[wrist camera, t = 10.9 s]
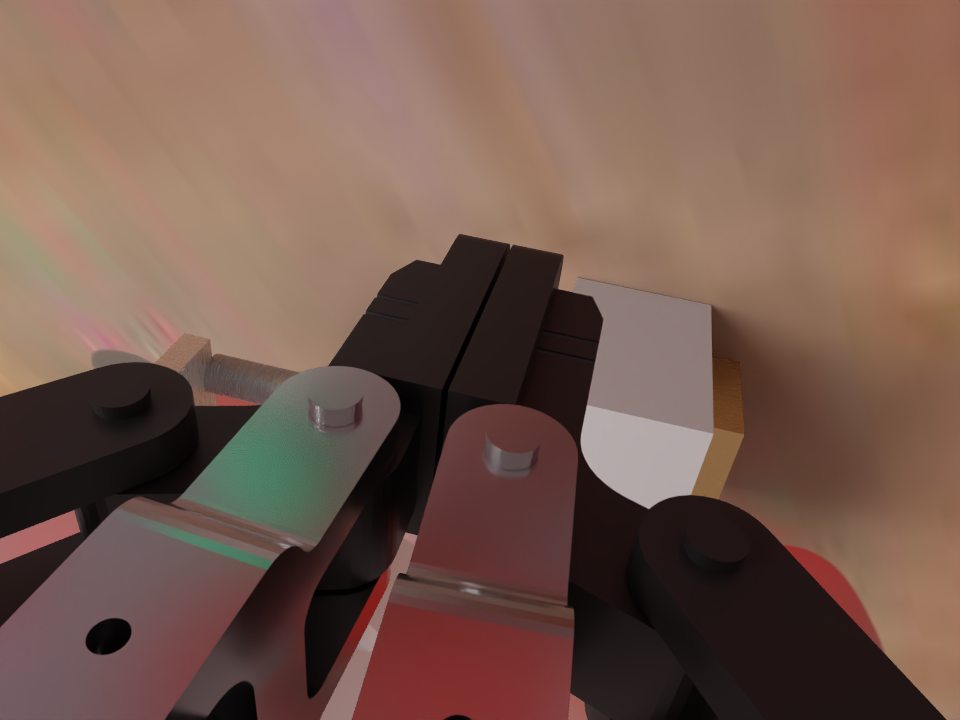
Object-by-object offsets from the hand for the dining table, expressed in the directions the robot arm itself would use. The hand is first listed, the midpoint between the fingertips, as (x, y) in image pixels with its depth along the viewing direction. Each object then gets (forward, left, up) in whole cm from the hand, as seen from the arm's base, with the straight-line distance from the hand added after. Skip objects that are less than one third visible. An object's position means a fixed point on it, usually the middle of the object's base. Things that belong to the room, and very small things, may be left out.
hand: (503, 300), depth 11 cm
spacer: (-9, +24, -32) cm, 41 cm away
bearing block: (-4, +24, -32) cm, 40 cm away
